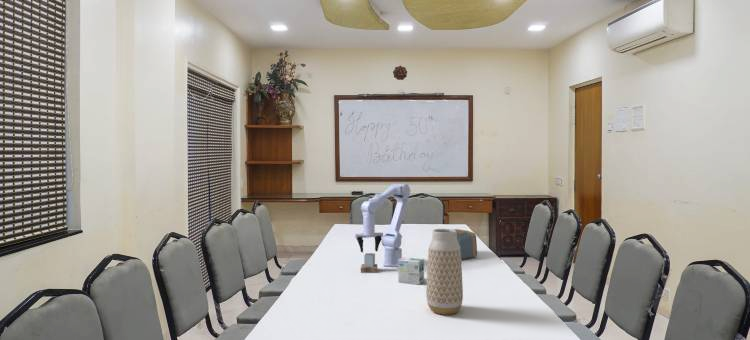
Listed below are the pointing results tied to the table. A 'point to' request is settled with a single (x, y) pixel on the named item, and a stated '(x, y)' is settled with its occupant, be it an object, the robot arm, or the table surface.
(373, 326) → the table surface
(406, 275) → the light bulb box
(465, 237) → the alarm clock
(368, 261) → the grey block
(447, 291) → the vase
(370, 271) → the walnut base
